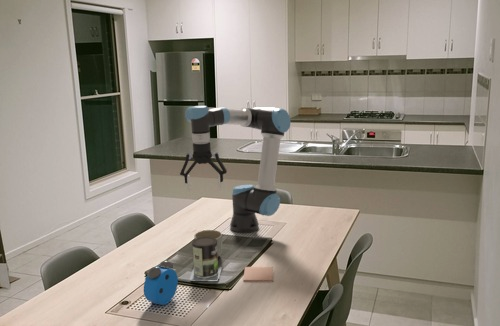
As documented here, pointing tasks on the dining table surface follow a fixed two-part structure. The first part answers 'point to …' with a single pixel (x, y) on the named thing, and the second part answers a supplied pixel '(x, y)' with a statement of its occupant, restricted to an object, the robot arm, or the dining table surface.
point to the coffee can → (205, 257)
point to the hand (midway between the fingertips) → (204, 189)
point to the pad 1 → (206, 278)
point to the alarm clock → (161, 284)
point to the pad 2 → (258, 274)
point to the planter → (212, 234)
